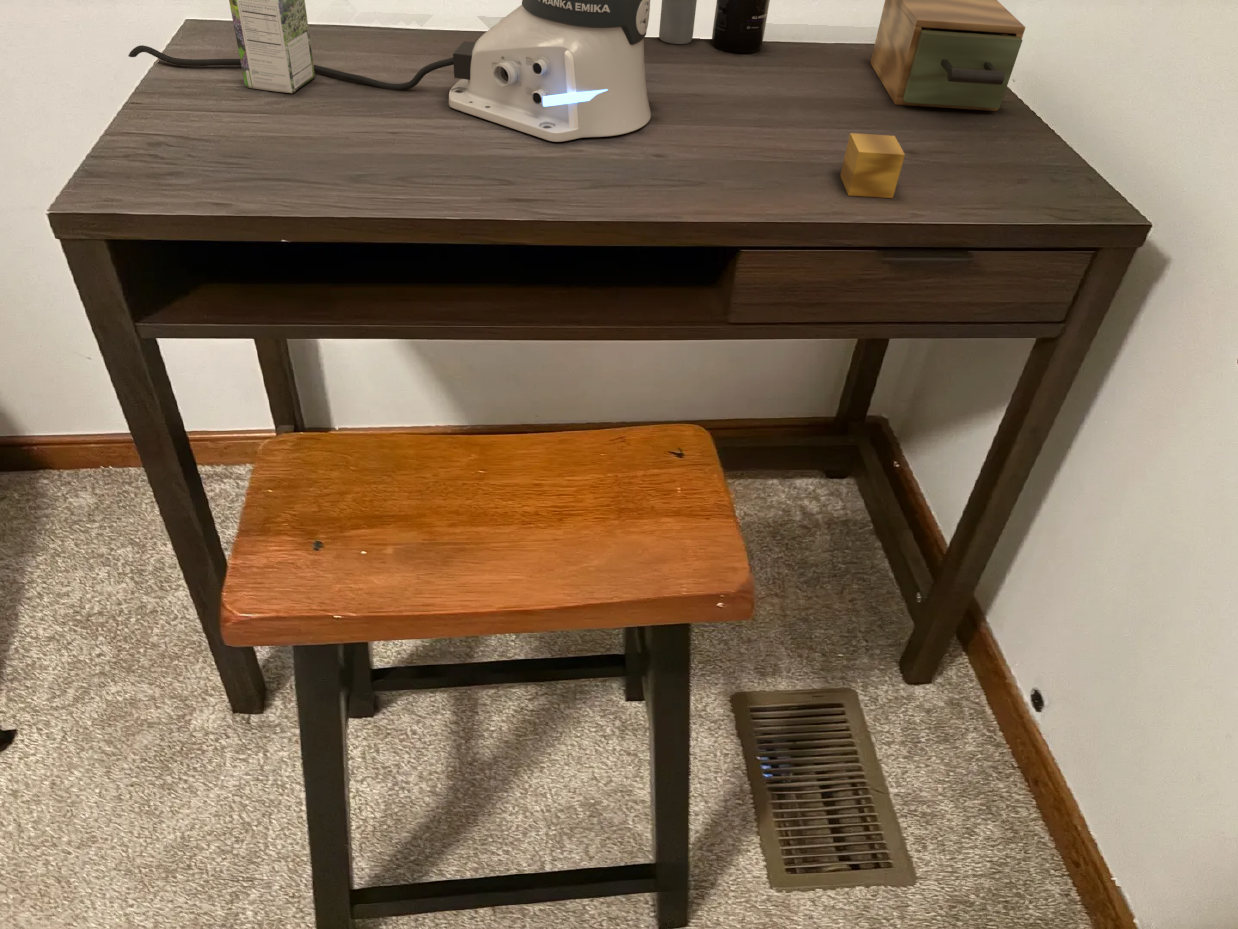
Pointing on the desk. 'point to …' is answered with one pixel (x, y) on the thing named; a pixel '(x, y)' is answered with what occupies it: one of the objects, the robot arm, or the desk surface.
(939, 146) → the desk surface
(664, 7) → the planter
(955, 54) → the drawer
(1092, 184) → the desk surface
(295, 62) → the syrup box
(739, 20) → the supplement bottle
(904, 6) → the cabinet
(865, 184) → the block
